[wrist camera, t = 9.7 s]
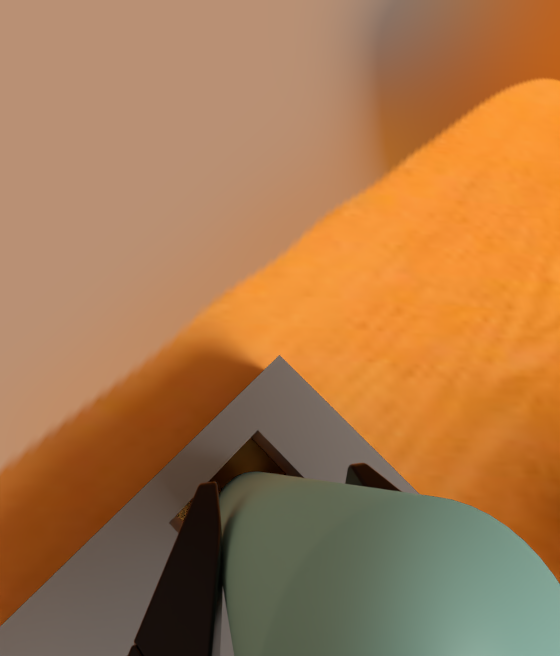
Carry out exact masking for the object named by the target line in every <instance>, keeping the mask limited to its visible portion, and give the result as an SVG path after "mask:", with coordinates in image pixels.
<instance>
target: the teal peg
mask: <svg viewBox="0 0 560 656" xmlns="http://www.w3.org/2000/svg"><path fill="white" fill-rule="evenodd" d="M219 503H220V514H221V525H222V584H223V590H224V596H225V602H226V608H227V615H228V621H229V627H230V633H231V639H232V645H233V651H234V656H560V584H559V582H558V581H557V579H556V578H555V576H554V575H553V574H552V572H551V571H550V570H549V568H548V567H547V566H546V565H545V563H544V562H543V561H542V559H541V558H540V557H539V556H538V555H537V554H536V553H535V552H534V551H533V550H532V548H531V547H530V546H529V545H528V544H527V543H526V542H525V541H524V540H523V539H521V538H520V537H519V536H518V535H517V534H516V533H514V532H513V531H512V530H511V529H510V528H508V527H507V526H506V525H504V524H503V523H501V522H500V521H498V520H497V519H495V518H494V517H492V516H491V515H489V514H487V513H485V512H483V511H481V510H479V509H476V508H474V507H472V506H470V505H467V504H464V503H461V502H458V501H455V500H451V499H446V498H440V497H434V496H427V495H420V494H413V493H406V492H399V491H392V490H385V489H378V488H371V487H364V486H357V485H350V484H343V483H336V482H329V481H322V480H315V479H308V478H301V477H294V476H287V475H280V474H273V473H266V472H259V471H252V472H246V473H243V474H240V475H238V476H236V477H235V478H233V479H232V480H231V481H229V482H228V483H227V484H226V485H225V486H224V488H223V489H222V490H221V492H220V493H219Z"/></svg>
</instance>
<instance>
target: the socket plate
mask: <svg viewBox="0 0 560 656" xmlns="http://www.w3.org/2000/svg"><path fill="white" fill-rule="evenodd" d="M250 438H252V439H253V440H254V441H255V442H256V443H257V444H258V445H259V446H260V447H261V448H262V449H263V450H264V451H265V452H266V454H267V455H268V456H269V457H270V458H271V459H272V460H273V461H274V462H275V463H276V464H277V465H278V466H279V467H280V468H281V469H282V470H283V471H284V472H285V473H286V474H287V475H288V476H294V477H301V478H308V479H315V480H322V481H329V482H336V483H343V484H345V481H346V475H347V470H348V467H349V465H350V464H355V463H366V464H368V465H369V466H370V467H372V468H373V469H374V470H375V471H377V472H378V473H379V474H380V475H382V476H383V477H384V478H386V479H387V480H388V481H389V482H391V483H392V484H393V485H394V486H396V487H397V488H398V489H399V490H401V491H402V492H406V493H413V494H419V493H418V492H417V491H416V490H415V489H414V488H413V487H412V486H411V485H410V484H409V483H408V482H407V481H406V480H405V479H404V478H403V477H402V476H401V475H400V474H399V473H398V472H397V471H396V470H395V469H394V468H393V467H392V466H391V465H390V464H389V463H388V462H387V461H386V460H385V459H384V458H383V457H382V456H381V455H380V454H379V453H378V452H377V451H376V450H375V449H374V448H373V447H372V446H370V445H369V444H368V443H367V442H366V441H365V440H364V439H363V438H362V437H361V436H360V435H359V434H358V433H357V432H356V431H355V430H354V429H353V428H352V427H351V426H350V425H349V424H348V423H347V422H346V421H345V420H344V419H343V418H342V417H341V416H340V415H339V414H338V413H337V412H336V411H335V410H334V409H333V408H332V407H331V406H330V405H329V404H328V403H327V402H326V401H325V400H324V399H323V398H322V397H321V396H320V395H319V394H318V393H317V392H316V391H315V390H314V389H313V388H312V387H311V386H310V385H309V384H308V383H307V382H306V381H305V380H304V379H303V378H302V377H301V376H300V375H299V374H298V373H297V372H296V371H295V370H294V369H293V368H292V367H291V366H290V365H289V364H288V363H287V362H286V361H285V360H284V359H283V358H282V357H281V356H280V355H279V356H278V357H277V358H276V359H275V360H274V361H273V362H272V363H271V364H270V365H269V366H268V367H267V368H266V369H265V370H264V371H263V372H262V373H261V374H260V375H259V376H258V377H256V378H255V379H254V380H253V381H252V382H251V383H250V384H249V385H248V386H247V387H246V388H245V389H244V390H243V391H242V392H241V393H240V394H239V395H238V396H237V397H236V398H235V399H234V400H233V401H232V402H231V403H230V404H229V405H228V406H227V407H226V408H225V409H224V410H223V411H221V412H220V413H219V414H218V415H217V416H216V417H215V418H214V419H213V420H212V421H211V422H210V423H209V424H208V425H207V426H206V427H205V428H204V429H203V430H202V431H201V432H200V433H199V434H198V435H197V436H196V437H195V438H194V439H193V440H192V441H191V442H190V443H189V444H188V445H186V446H185V447H184V448H183V449H182V450H181V451H180V452H179V453H178V454H177V455H176V456H175V457H174V458H173V459H172V460H171V461H170V462H169V463H168V464H167V465H166V466H165V467H164V468H163V469H162V470H161V471H160V472H159V473H158V474H157V475H156V476H155V477H154V478H153V479H152V480H150V481H149V482H148V483H147V484H146V485H145V486H144V487H143V488H142V489H141V490H140V491H139V492H138V493H137V494H136V495H135V496H134V497H133V498H132V499H131V500H130V501H129V502H128V503H127V504H126V505H125V506H124V507H123V508H122V509H121V510H120V511H119V512H118V513H117V514H115V515H114V516H113V517H112V518H111V519H110V520H109V521H108V522H107V523H106V524H105V525H104V526H103V527H102V528H101V529H100V530H99V531H98V532H97V533H96V534H95V535H94V536H93V537H92V538H91V539H90V540H89V541H88V542H87V543H86V544H85V545H84V546H83V547H82V548H80V549H79V550H78V551H77V552H76V553H75V554H74V555H73V556H72V557H71V558H70V559H69V560H68V561H67V562H66V563H65V564H64V565H63V566H62V567H61V568H60V569H59V570H58V571H57V572H56V573H55V574H54V575H53V576H52V577H51V578H50V579H49V580H48V581H47V582H45V583H44V584H43V585H42V586H41V587H40V588H39V589H38V590H37V591H36V592H35V593H34V594H33V595H32V596H31V597H30V598H29V599H28V600H27V601H26V602H25V603H24V604H23V605H22V606H21V607H20V608H19V609H18V610H17V611H16V612H15V613H14V614H13V615H12V616H11V617H9V618H8V619H7V620H6V621H5V622H4V623H3V624H2V625H1V626H0V656H128V653H129V651H130V648H131V646H132V645H134V639H135V637H136V634H137V632H138V630H139V627H140V625H141V622H142V620H143V617H144V615H145V613H146V610H147V608H148V605H149V603H150V601H151V598H152V596H153V593H154V591H155V589H156V586H157V584H158V581H159V579H160V576H161V574H162V572H163V569H164V567H165V564H166V562H167V560H168V557H169V555H170V552H171V550H172V547H173V545H174V543H175V540H176V538H177V535H178V533H179V531H180V528H181V526H182V523H183V522H182V520H181V519H180V518H179V517H178V516H177V514H178V513H179V512H180V511H181V510H182V509H183V508H184V507H185V506H186V504H187V503H188V502H189V501H190V500H191V499H192V498H193V497H194V494H195V492H196V490H197V487H198V485H199V484H200V483H206V482H208V481H209V480H210V479H211V478H212V477H213V476H214V475H215V474H216V473H217V472H218V471H219V470H220V469H221V468H222V467H223V466H224V465H225V464H226V463H227V462H228V461H229V460H230V458H231V457H232V456H233V455H234V454H235V453H236V452H237V451H238V450H239V449H240V448H241V447H242V446H243V445H244V444H245V443H246V442H247V441H248V440H249V439H250ZM220 656H234V651H233V645H232V639H231V633H230V627H229V621H228V615H227V608H226V602H225V596H224V590H223V600H222V623H221V647H220Z"/></svg>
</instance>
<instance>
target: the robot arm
mask: <svg viewBox="0 0 560 656" xmlns="http://www.w3.org/2000/svg"><path fill="white" fill-rule="evenodd" d="M345 484H350V485H357V486H364V487H371V488H378V489H385V490H392V491H399V492H402V491H401V490H399V489H398V488H397V487H396V486H394V485H393V484H392V483H391V482H389V481H388V480H387V479H386V478H384V477H383V476H382V475H380V474H379V473H378V472H377V471H375V470H374V469H373V468H372V467H370V466H369V465H368V464H366V463H355V464H350V465H349V467H348V470H347V475H346V481H345ZM222 600H223V584H222V525H221V514H220V503H219V493H218V484H217V482H206V483H200V484H199V485H198V487H197V490H196V492H195V494H194V497H193V499H192V502H191V504H190V506H189V509H188V511H187V514H186V516H185V519H184V521H183V523H182V526H181V528H180V531H179V533H178V535H177V538H176V540H175V543H174V545H173V547H172V550H171V552H170V555H169V557H168V560H167V562H166V564H165V567H164V569H163V572H162V574H161V576H160V579H159V581H158V584H157V586H156V589H155V591H154V593H153V596H152V598H151V601H150V603H149V605H148V608H147V610H146V613H145V615H144V617H143V620H142V622H141V625H140V627H139V630H138V632H137V634H136V637H135V639H134V645H132V646H131V648H130V651H129V653H128V656H220V647H221V623H222Z"/></svg>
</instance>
